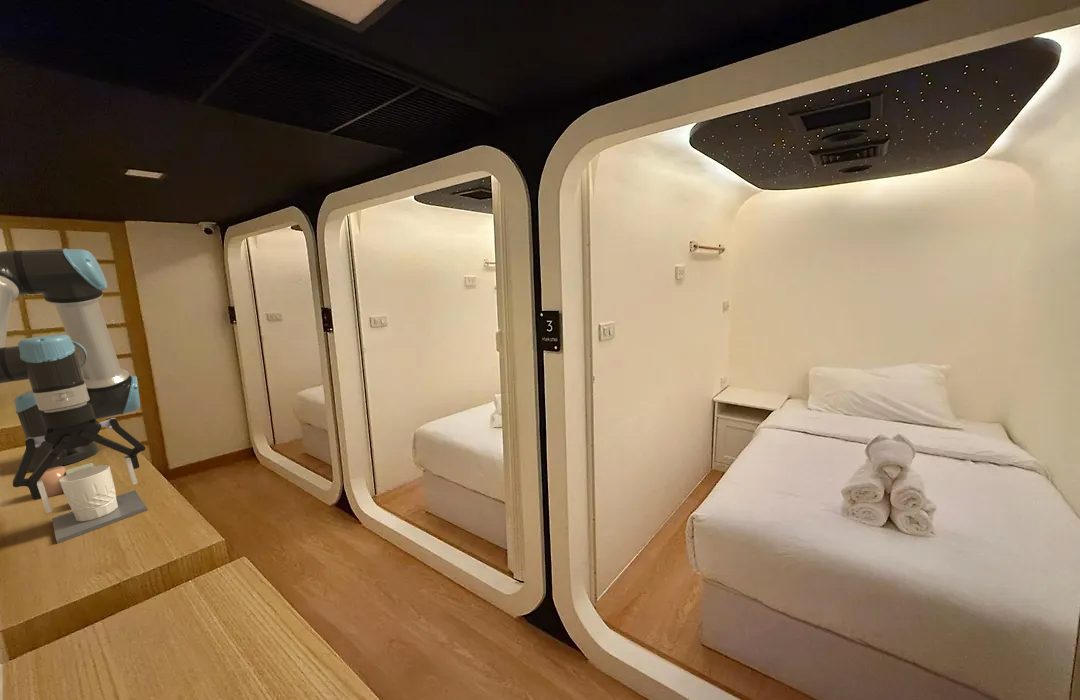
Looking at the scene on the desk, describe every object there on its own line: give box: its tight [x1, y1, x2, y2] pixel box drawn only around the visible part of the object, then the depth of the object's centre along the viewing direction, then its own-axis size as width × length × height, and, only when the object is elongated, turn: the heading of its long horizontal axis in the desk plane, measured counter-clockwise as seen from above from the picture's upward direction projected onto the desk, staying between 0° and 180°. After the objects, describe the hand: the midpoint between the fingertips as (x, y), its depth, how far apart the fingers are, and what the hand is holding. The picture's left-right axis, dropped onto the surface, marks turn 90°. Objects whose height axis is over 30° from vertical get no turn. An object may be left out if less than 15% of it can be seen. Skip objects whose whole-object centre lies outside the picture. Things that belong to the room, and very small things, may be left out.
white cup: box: [59, 464, 118, 522], centre depth 95 cm, size 8×8×10 cm
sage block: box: [65, 462, 95, 474], centre depth 112 cm, size 5×5×5 cm
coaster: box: [51, 489, 148, 544], centre depth 97 cm, size 14×14×1 cm
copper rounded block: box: [39, 465, 67, 498], centre depth 110 cm, size 5×5×6 cm
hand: (94, 495), depth 96 cm, fingers open, 13 cm apart
